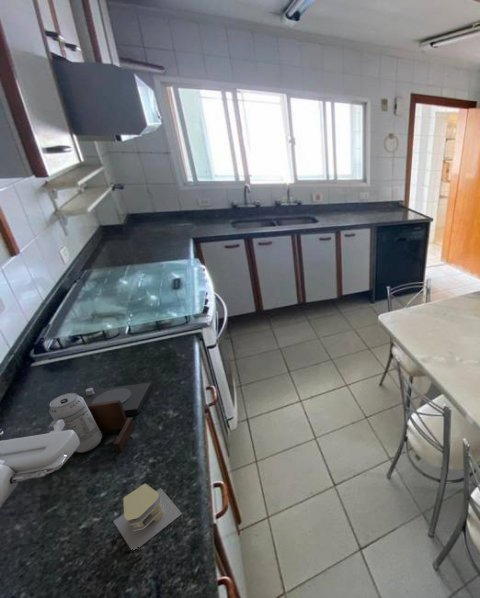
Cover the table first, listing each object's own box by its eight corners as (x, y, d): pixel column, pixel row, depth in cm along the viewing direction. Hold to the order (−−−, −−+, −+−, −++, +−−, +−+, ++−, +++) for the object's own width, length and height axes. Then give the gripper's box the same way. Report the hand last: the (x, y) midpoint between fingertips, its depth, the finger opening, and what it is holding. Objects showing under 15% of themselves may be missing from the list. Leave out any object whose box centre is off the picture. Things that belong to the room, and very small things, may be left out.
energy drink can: (100, 431, 88) (78, 387, 81) (106, 443, 84) (82, 399, 78) (70, 445, 84) (44, 400, 77) (75, 458, 80) (47, 413, 74)
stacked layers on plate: (113, 521, 68) (103, 504, 66) (160, 487, 75) (153, 471, 72) (132, 552, 63) (123, 536, 61) (182, 513, 70) (175, 497, 67)
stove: (68, 424, 89) (63, 414, 88) (89, 395, 99) (86, 386, 98) (138, 414, 94) (135, 404, 93) (152, 387, 105) (149, 378, 103)
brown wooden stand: (34, 467, 78) (19, 439, 74) (57, 436, 86) (44, 410, 82) (121, 451, 83) (111, 425, 79) (135, 423, 91) (126, 398, 87)
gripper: (48, 461, 56) (88, 405, 68) (-124, 492, 50) (-47, 425, 62) (62, 485, 59) (98, 428, 71) (-101, 518, 52) (-31, 449, 64)
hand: (29, 426), depth 66 cm, fingers open, 8 cm apart
